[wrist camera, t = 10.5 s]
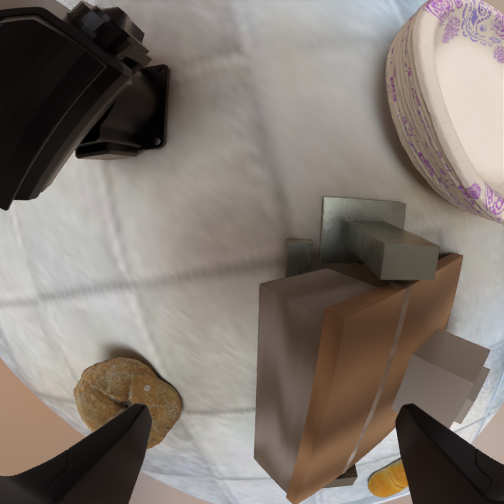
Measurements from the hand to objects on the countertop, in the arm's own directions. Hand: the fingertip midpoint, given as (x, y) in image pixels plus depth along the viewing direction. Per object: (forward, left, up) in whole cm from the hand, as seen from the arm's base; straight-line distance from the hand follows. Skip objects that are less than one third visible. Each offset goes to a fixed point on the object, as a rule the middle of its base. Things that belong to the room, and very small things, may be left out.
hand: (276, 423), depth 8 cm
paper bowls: (-14, +14, -13) cm, 24 cm away
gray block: (+5, +11, -9) cm, 15 cm away
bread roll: (+29, +19, -13) cm, 37 cm away
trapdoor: (+5, +5, -11) cm, 13 cm away
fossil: (+11, -13, -13) cm, 21 cm away
